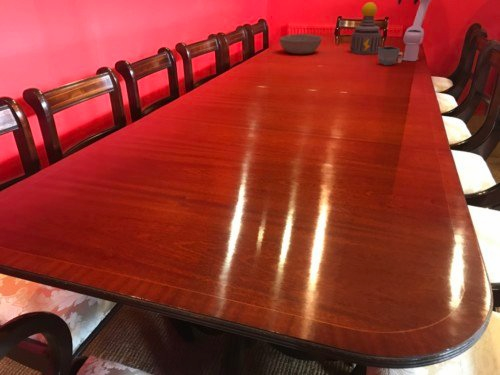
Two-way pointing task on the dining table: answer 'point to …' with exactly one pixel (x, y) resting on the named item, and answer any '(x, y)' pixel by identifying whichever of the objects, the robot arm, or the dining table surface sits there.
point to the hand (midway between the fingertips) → (406, 2)
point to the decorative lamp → (366, 33)
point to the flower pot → (388, 55)
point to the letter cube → (399, 57)
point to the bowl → (300, 43)
